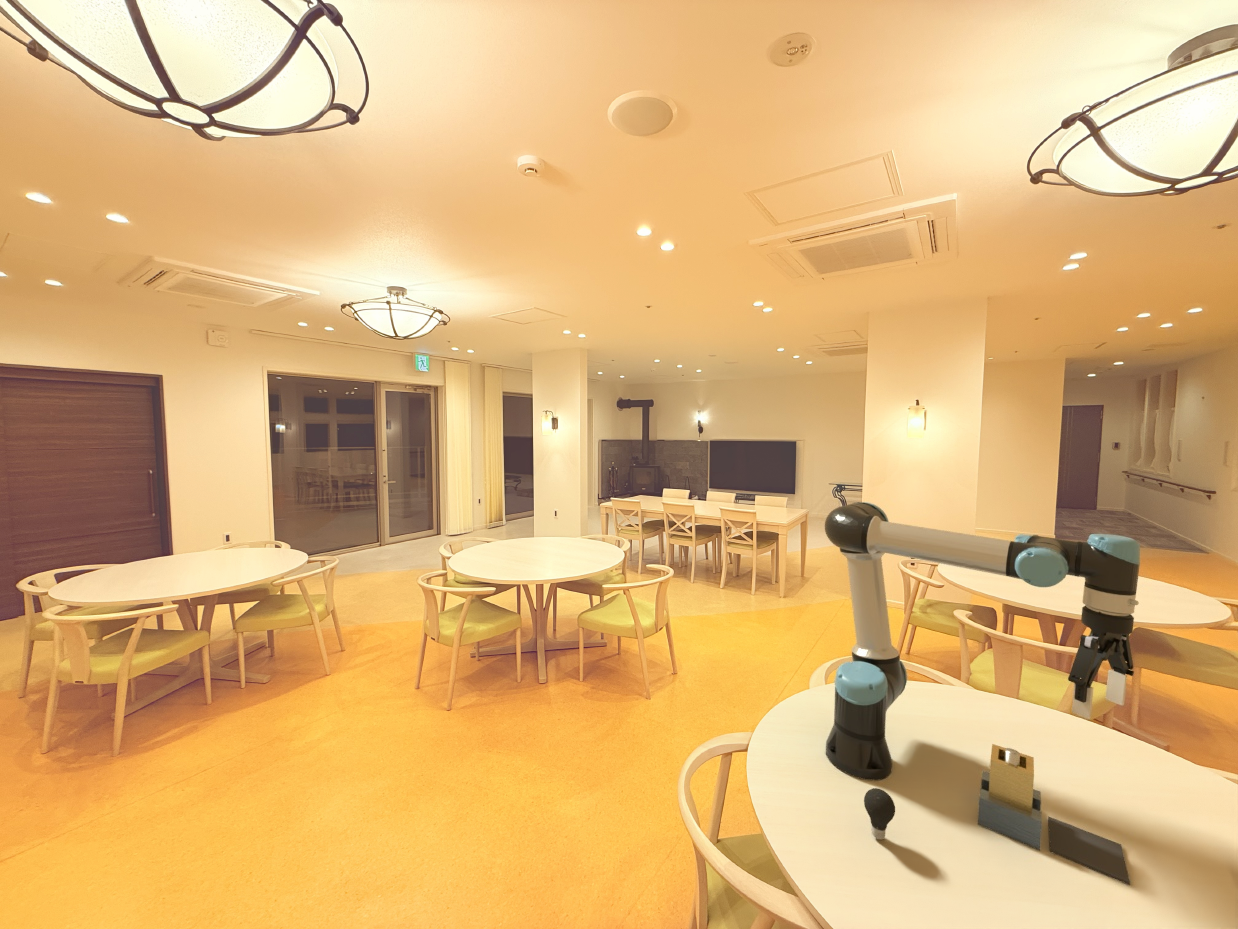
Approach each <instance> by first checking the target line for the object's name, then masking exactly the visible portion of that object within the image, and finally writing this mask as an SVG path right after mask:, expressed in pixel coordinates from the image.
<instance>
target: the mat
mask: <svg viewBox="0 0 1238 929" xmlns="http://www.w3.org/2000/svg"><path fill="white" fill-rule="evenodd" d="M1047 824H1048V839H1049V840H1048V843H1049V852H1050V853H1052V854H1054V855H1057V856H1059V857H1061V858H1064V859H1066V860H1068V861H1071V862H1073V863H1076V864H1078V865H1081V866H1082V867H1086V868H1088V869H1091V870H1092V871H1095V872H1097V873H1100V874H1102V875H1105V876H1106V877H1109V878H1111V879H1114V880H1116V881H1119V882H1122V884H1126V885H1128V886H1130V885H1131V881H1130V880H1131V879H1130V877H1129V876H1130V875H1129V872H1128V871H1129V870H1128V867H1127V863H1126V858H1125V855H1124V851H1123V846H1122V844H1121V843H1119V842H1115V841H1113V840H1111V839H1107V838H1106V837H1103V836H1101V835H1098V834H1095V833H1093V832H1091V831H1090V832H1089V831H1088V830H1086V829H1082V828H1080V827H1077V826H1074V825H1072V824H1069V823H1067V822H1064V821H1061V820H1059V819H1057V818H1053V817H1051V816H1047Z"/></svg>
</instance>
